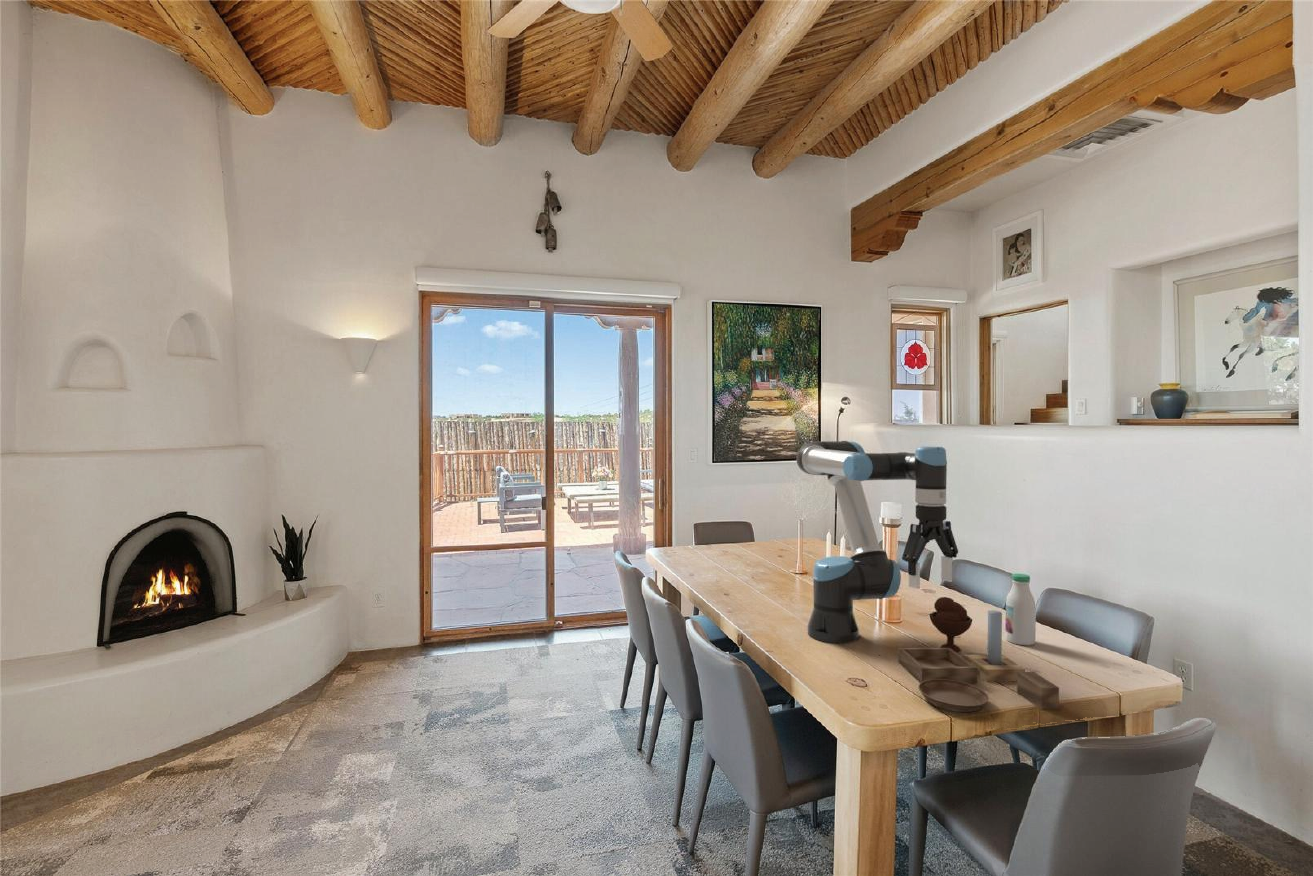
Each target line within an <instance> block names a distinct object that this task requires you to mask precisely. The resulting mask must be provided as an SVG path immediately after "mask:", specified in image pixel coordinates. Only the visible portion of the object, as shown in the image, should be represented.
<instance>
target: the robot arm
mask: <svg viewBox="0 0 1313 876" xmlns="http://www.w3.org/2000/svg"><path fill="white" fill-rule="evenodd" d="M796 465H797V466H798V468H799V469H800V470H801V471H802V472H803V473H805V474H808V475H811V476H827V477H826V478H827V480H828V484H830V485H832V486H834V489H835V493H836V495H837V500H838V501H837V502H838V504H839V508H840V512H841V516H842V519H843V523H844V527H845V531H846V534H847V538H848V542H849V545H850V550H851V555H850V556H841V555H840V556H827V557H823V558H820V559H818V560H817V561H816V562H815V563H814V566H813V574H812V578H813V609H812V612H811V615H810V618H809V620H808V622H807V623H808V624H807V635H808V636H810V637H811V638H812V639H815V640H818V641H821V642H825V643H833V644H834V643H835V644H845V643H852V642H855V641H857V640H858V639H859V638H860V637H859V636H860V632H859V630H860V629H859V625H858V623H857V620H856V617H855V614H854V609H853V607H854V601H862V600H876V599H878V600H883V599H889V598H892V597H894V596H896V595H897V593H898V591H899V590H900V586H901V583H902V582H901V581H902V578H901V577H902V574H901V569H900V566H899V565H898V563H897V562H896V561H895V560H894V559H891V558H889V557H888V554H887V551H886V550H884V549H882V548H881V547H880V544H879V541H878V537H877V533H876V530H875V527H874V523H873V519H872V516H871V513H870V510H869V506H868V502H867V499H866V495H865V492H864V488H863V485H862V482H864V481H896V480H897V481H899V480H900V481H901V480H903V481H904V480H909V481H915V493H914V494H915V496H914V497H915V502H916V503H917V504H916V505H915V518H916V519H918V524H914V523H911V524H910V527H909V534H908V537H907V541H906V543H905V546H904V550H903V553H902V556H901V560H902V561H904V562H907V563H908V564H907V565H908V566H907V569H908V571H907V573H908V587H910V588H913V589H918V590H919V589H920V588H921V586H920V585H921V583H920V582H921V578H920V577H921V569H920V568H921V564H920V562H919V560H920V558H921V556H922V554H923V552H924V550H925V547H926V546H927V544H928V543H931V542H930V541H935V543H936V544H937V546H938V548H939V549H940V551H941V553H942V554H943V555H942V556H941V558H940V559H941V560H940V561H941V563H940V564H941V565H940V566H941V567H940V568H941V570H940V572H941V573H940V574H941V578H940V579H941V581H944V582H949V583H952V582H953V559H954V558H957V556H958V553H959V550H958V547H957V543H956V540H955V537H954V534H953V530H952V524H951V521H948V520H947V506H946V505H945V504H947V470H948V469H947V466H948V461H947V450H946V448H945V447H943V446H917V447H916V448H915V453H914V452H905V451H904V452H901V451H900V452H885V453H884V452H882V453H878V452H877V453H876V452H873V453H871V452H870V453H869V452H865V450H864V448H863V447H862V445H860V443H857V442H855V441H848V440H841V441H834V440H832V441H829V440H828V441H820V440H819V441H811V442H807V443H806V444H803V445H802V446H801V447H800V448H799V449H798V451H797V454H796Z"/></svg>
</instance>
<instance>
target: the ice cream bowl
mask: <svg viewBox="0 0 1313 876" xmlns="http://www.w3.org/2000/svg"><path fill="white" fill-rule="evenodd" d="M933 605H934V609H935V611H933V612H931V613H930V614H929V618H930V619H929V620H930V622H931V623H932V625H933V626H934V627H935V629H937V631H939V632H940V633H941V634H942V635H944V636H946V638H947V639H946V643H943V644H941V645H940V646H939V648H951V649H952V650H953V651H955V652H956V653H958V654H959V653H961V652H962V649H961V648H960V646H958V645H957V644H955V637H958V636H961V635H963V634H964V633H965V632H967V631H969V629H970V628H971V626H972V622H973V619H972V618H971V617H970V616H969V615H968V611H967V610H966V608H965V607H964V606H963V605H962V604H960V603H959V602H957V601H955V600H954V599H953V598H951V597H947V596H941V597H939V598H937V599H936V600H935V602H934V604H933Z"/></svg>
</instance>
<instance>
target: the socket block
mask: <svg viewBox="0 0 1313 876" xmlns="http://www.w3.org/2000/svg"><path fill="white" fill-rule="evenodd" d="M987 655H988V654H965V656H964V659H966V660H967V661H969V662H970V663H971V664H973V665H974V666H975V667H977V668H978V672H977V677H980V679H982V680H983V681H985V682H1017V672H1026V668H1024V667H1023V666H1021V665H1019V664H1018V663H1017V662H1015V661H1014V660H1012V659H1010V658H1009V657H1007V656H1005V655H1004V654H1002V662H1001V665H990V664H988V663H987Z"/></svg>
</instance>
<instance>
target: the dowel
mask: <svg viewBox="0 0 1313 876" xmlns="http://www.w3.org/2000/svg"><path fill="white" fill-rule="evenodd" d="M1002 633H1003V612H1002V611H999V610H996V609H995V610H994V609H991V610H988V611H987V654H986V655H987V663H988V664H990V665H1001V662H1002V655H1003V654H1002V653H1003V652H1002V651H1003V650H1002V647H1003V646H1002V645H1003V643H1002V641H1003V640H1002V639H1003V638H1002V637H1003V634H1002Z"/></svg>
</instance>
